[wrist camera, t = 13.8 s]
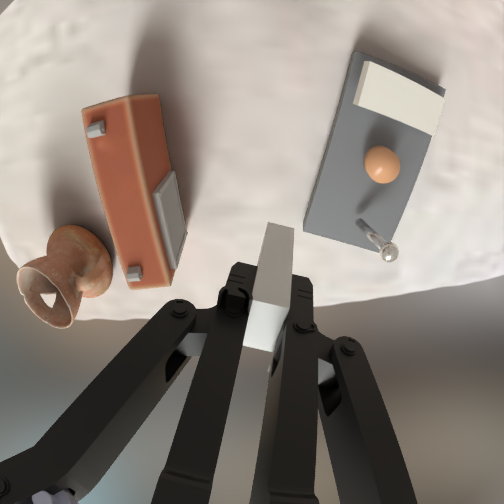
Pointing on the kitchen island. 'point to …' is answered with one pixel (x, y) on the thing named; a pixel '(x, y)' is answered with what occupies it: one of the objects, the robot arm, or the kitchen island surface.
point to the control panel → (137, 187)
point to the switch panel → (352, 169)
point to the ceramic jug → (66, 274)
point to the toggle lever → (379, 241)
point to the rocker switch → (398, 98)
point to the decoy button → (381, 164)
